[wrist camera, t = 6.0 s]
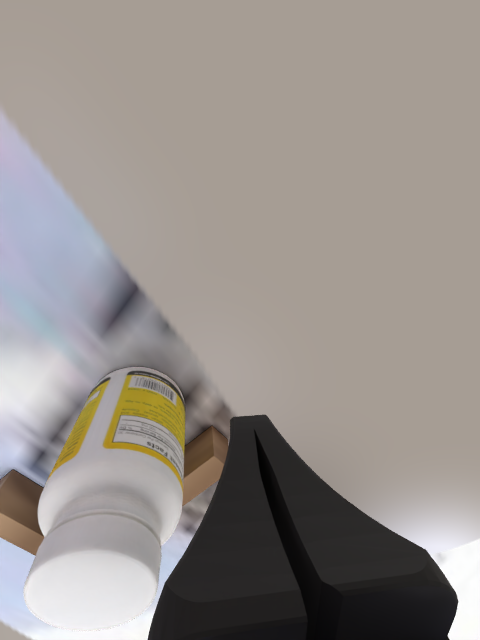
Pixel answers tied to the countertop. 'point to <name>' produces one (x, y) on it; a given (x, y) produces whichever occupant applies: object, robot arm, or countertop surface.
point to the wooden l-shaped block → (23, 494)
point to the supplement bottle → (110, 504)
